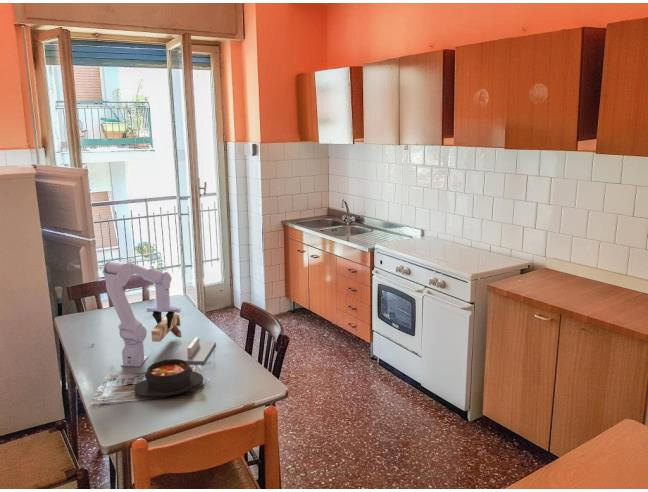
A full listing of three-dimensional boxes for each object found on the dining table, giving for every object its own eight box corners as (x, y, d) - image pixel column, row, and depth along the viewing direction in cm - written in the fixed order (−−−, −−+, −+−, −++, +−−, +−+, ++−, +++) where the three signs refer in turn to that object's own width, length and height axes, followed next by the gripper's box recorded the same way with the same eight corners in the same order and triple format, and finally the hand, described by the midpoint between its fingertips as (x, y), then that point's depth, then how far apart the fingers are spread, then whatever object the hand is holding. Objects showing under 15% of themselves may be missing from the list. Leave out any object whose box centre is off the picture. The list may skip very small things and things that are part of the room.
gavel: (190, 329, 252) (169, 333, 246) (191, 337, 253) (169, 342, 248) (177, 313, 269) (156, 316, 263) (177, 321, 270) (157, 325, 265)
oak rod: (160, 341, 228) (159, 330, 227) (152, 341, 228) (151, 330, 227) (176, 322, 250) (176, 312, 248) (169, 322, 250) (168, 312, 249)
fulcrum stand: (203, 363, 222) (203, 352, 220) (170, 362, 222) (169, 351, 221) (215, 344, 241) (215, 334, 240) (185, 343, 242) (184, 333, 241)
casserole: (196, 371, 215) (195, 351, 213) (209, 391, 199) (208, 370, 197) (131, 384, 204) (129, 364, 202) (138, 407, 188) (137, 384, 186)
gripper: (182, 295, 239) (183, 324, 242) (149, 294, 240) (152, 323, 243) (176, 300, 232) (178, 330, 235) (143, 300, 233) (146, 329, 236)
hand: (164, 327), depth 238 cm, fingers closed on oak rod, 3 cm apart
